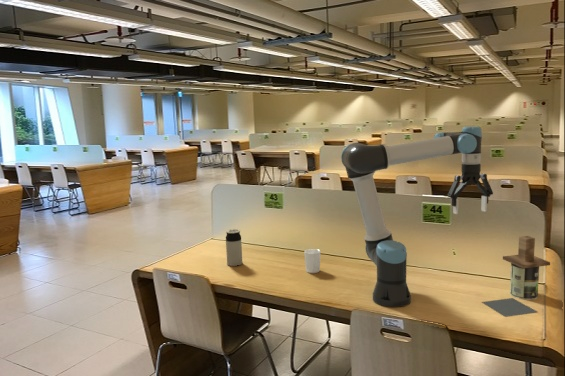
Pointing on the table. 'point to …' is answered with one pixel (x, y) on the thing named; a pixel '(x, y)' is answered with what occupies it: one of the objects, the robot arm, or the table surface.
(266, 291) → the table surface
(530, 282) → the coffee can
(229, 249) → the travel mug
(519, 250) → the lid
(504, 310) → the mat
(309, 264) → the white cup
